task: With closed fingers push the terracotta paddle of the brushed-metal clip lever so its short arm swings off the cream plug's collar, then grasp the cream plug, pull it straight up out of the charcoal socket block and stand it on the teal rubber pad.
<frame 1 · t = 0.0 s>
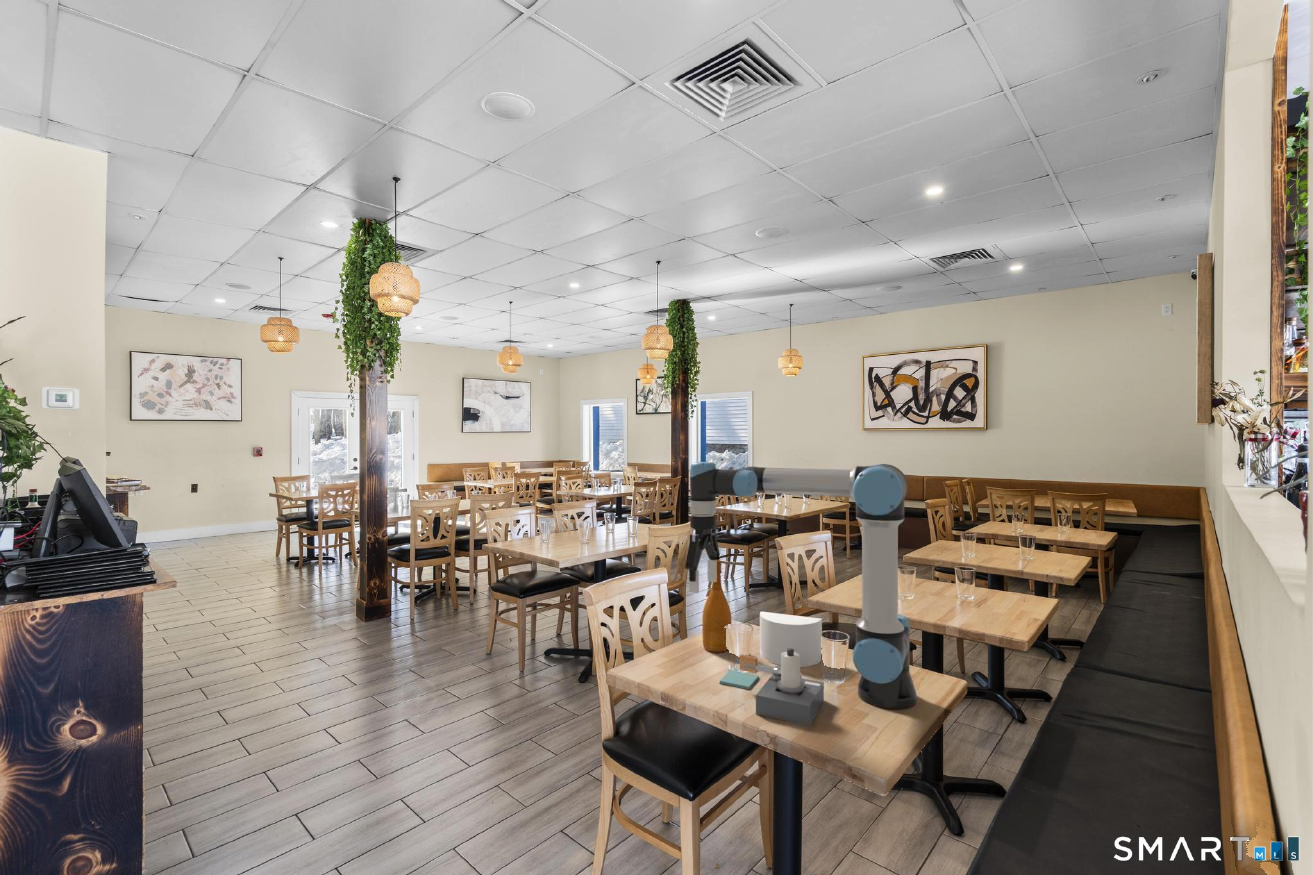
hand: (703, 586, 179), 28 cm above the table, fingers open, 13 cm apart
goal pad: (739, 680, 179), on the table
plug: (790, 707, 162), resting in socket block
container: (790, 655, 200), on the table
socket block: (790, 707, 162), on the table
wine bottle: (717, 648, 206), on the table
clip lever: (769, 668, 169), point 8 cm above the table, hinge at 0.0°
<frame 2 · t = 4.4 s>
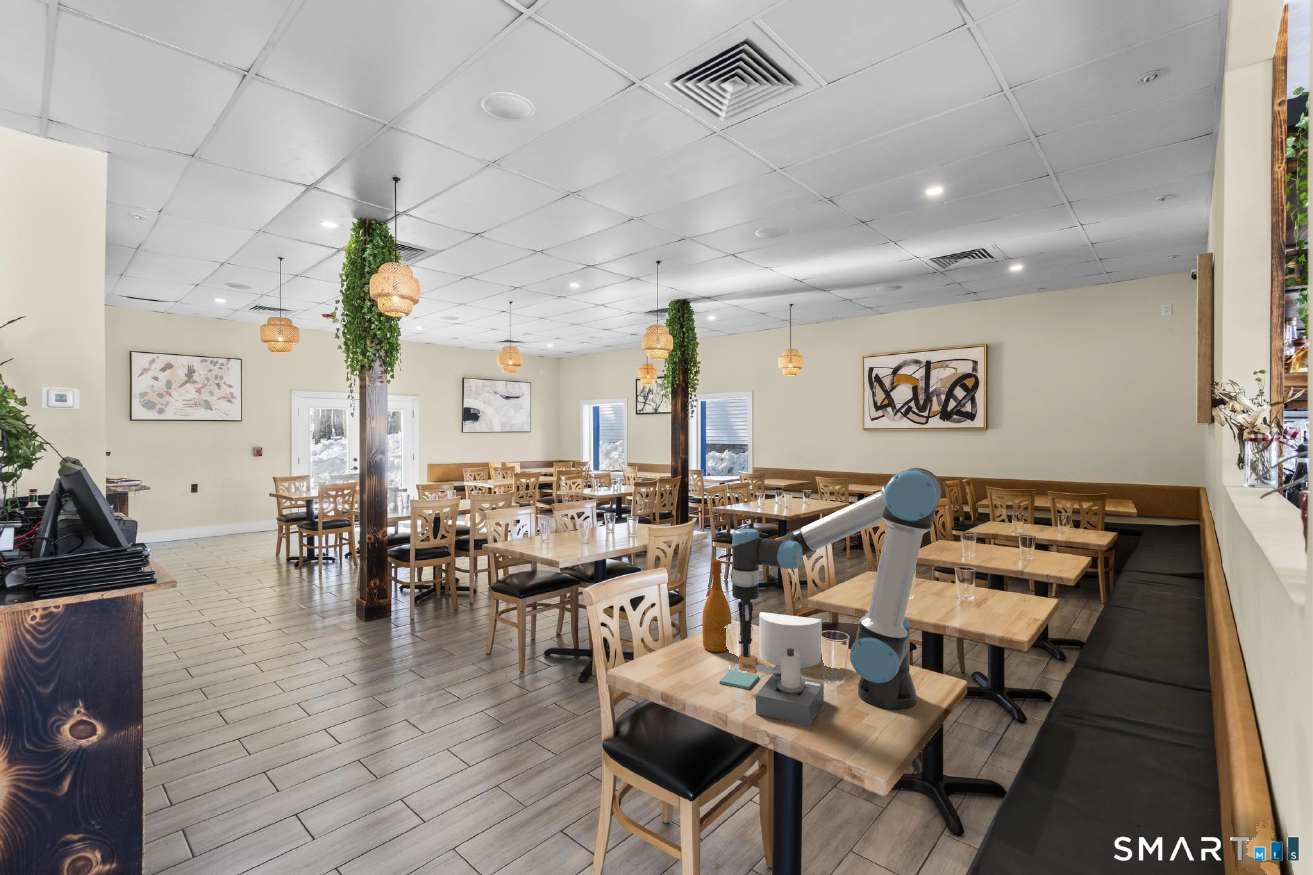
hand: (745, 664, 175), 6 cm above the table, fingers closed
clip lever: (769, 668, 169), point 8 cm above the table, hinge at 1.5°, touching gripper
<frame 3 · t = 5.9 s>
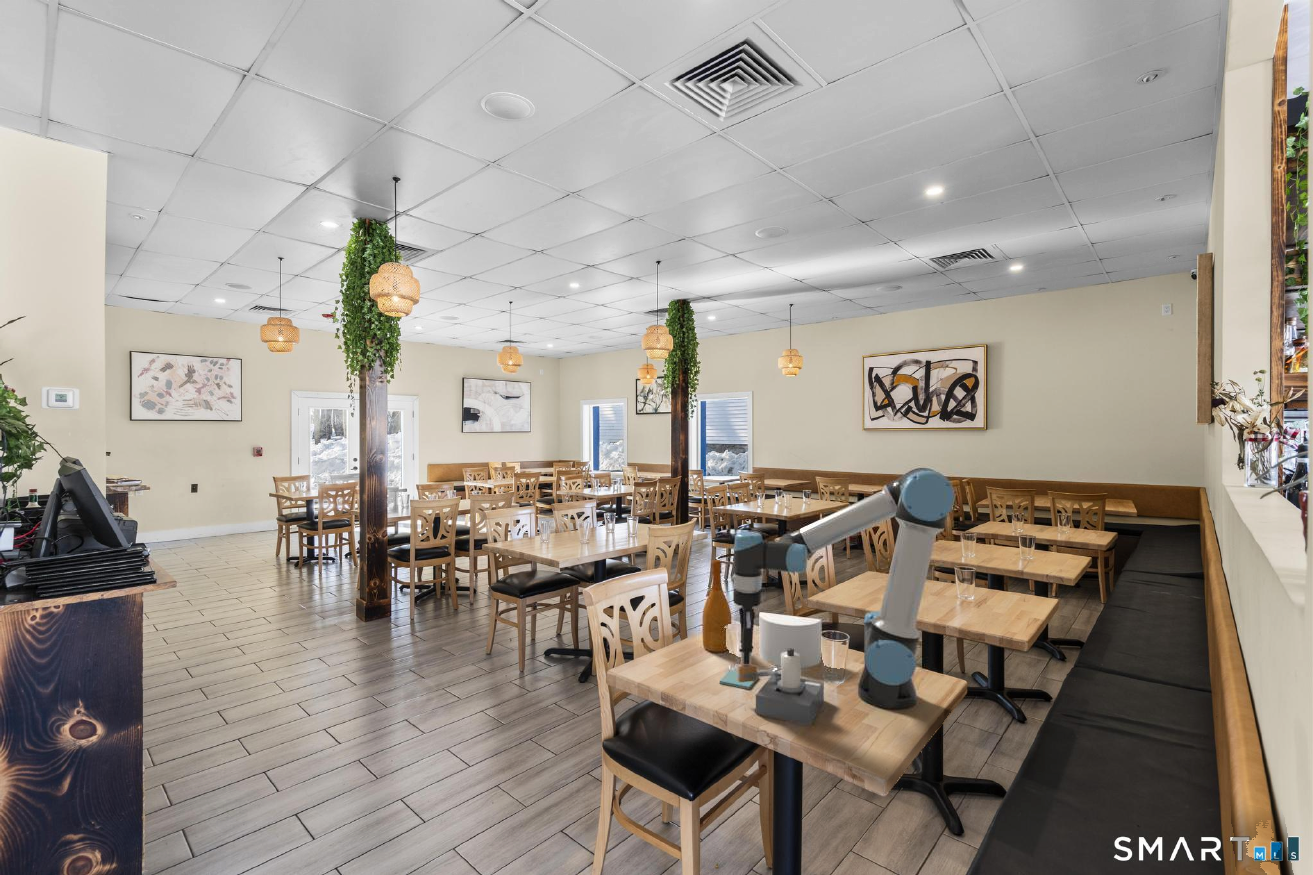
hand: (745, 673, 167), 7 cm above the table, fingers closed
clip lever: (769, 671, 167), point 8 cm above the table, hinge at 45.5°, touching gripper
everything else where it was.
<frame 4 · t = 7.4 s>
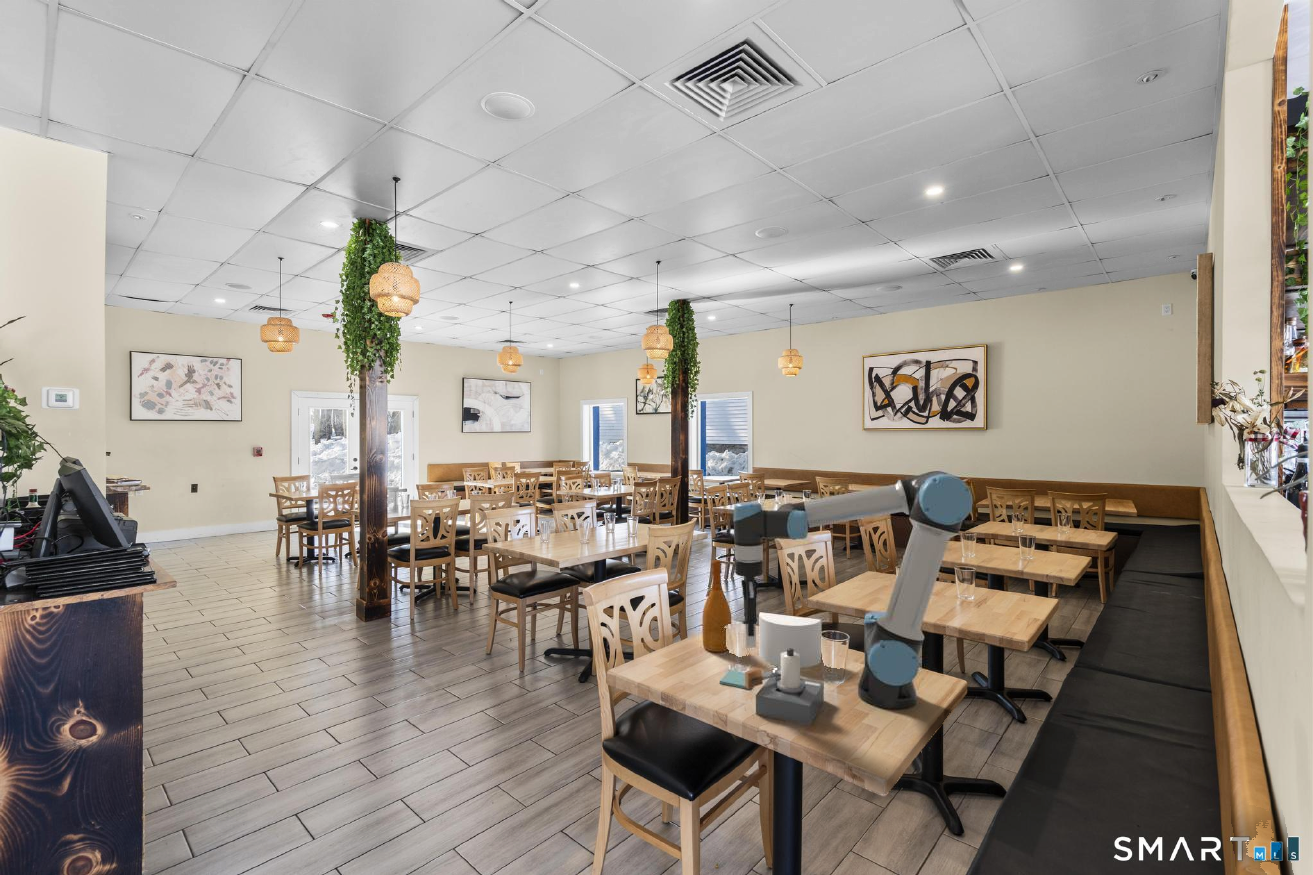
hand: (750, 646, 165), 15 cm above the table, fingers closed
clip lever: (771, 672, 166), point 8 cm above the table, hinge at 66.7°
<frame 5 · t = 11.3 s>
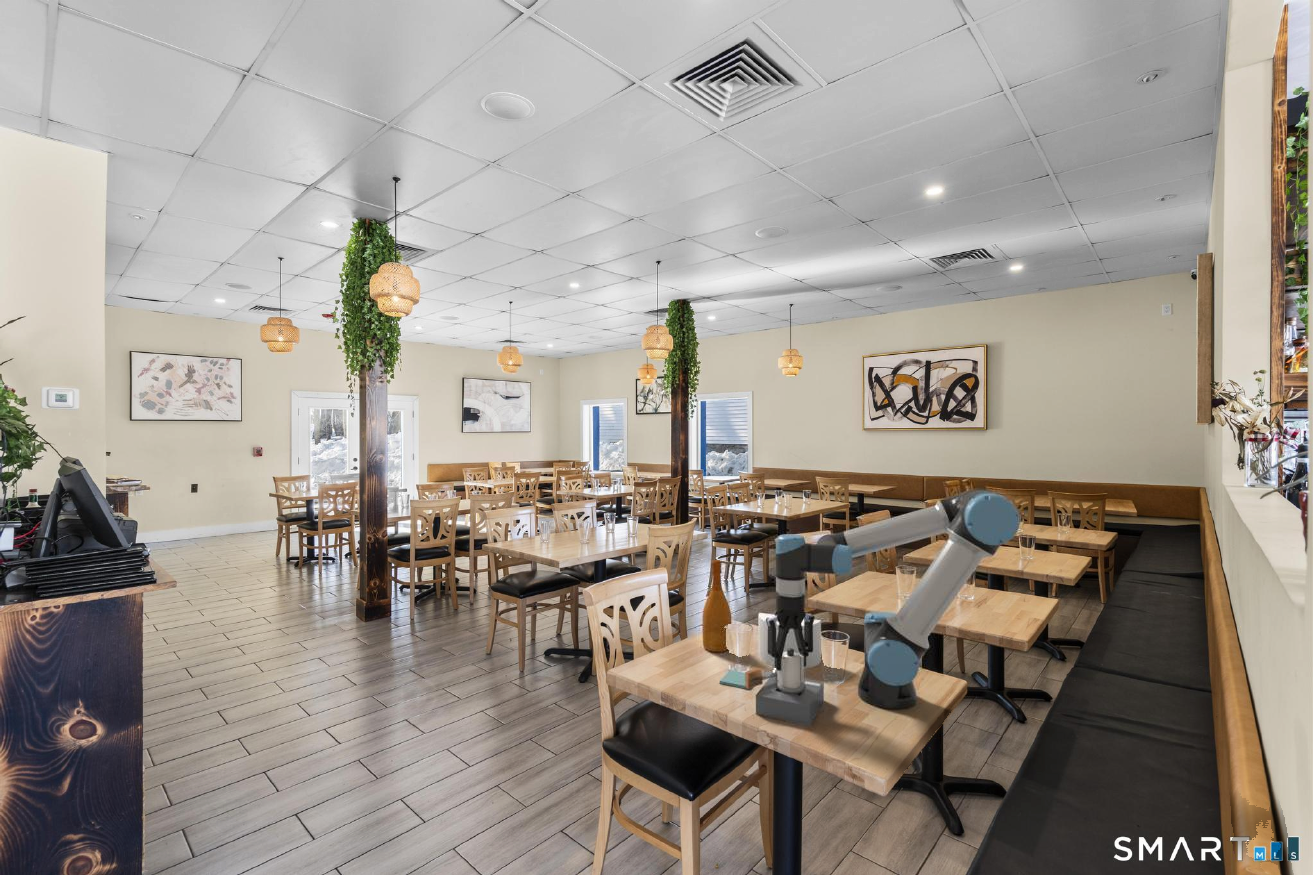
hand: (790, 680, 162), 7 cm above the table, fingers closed on plug, 5 cm apart
plug: (790, 707, 162), resting in socket block, touching gripper
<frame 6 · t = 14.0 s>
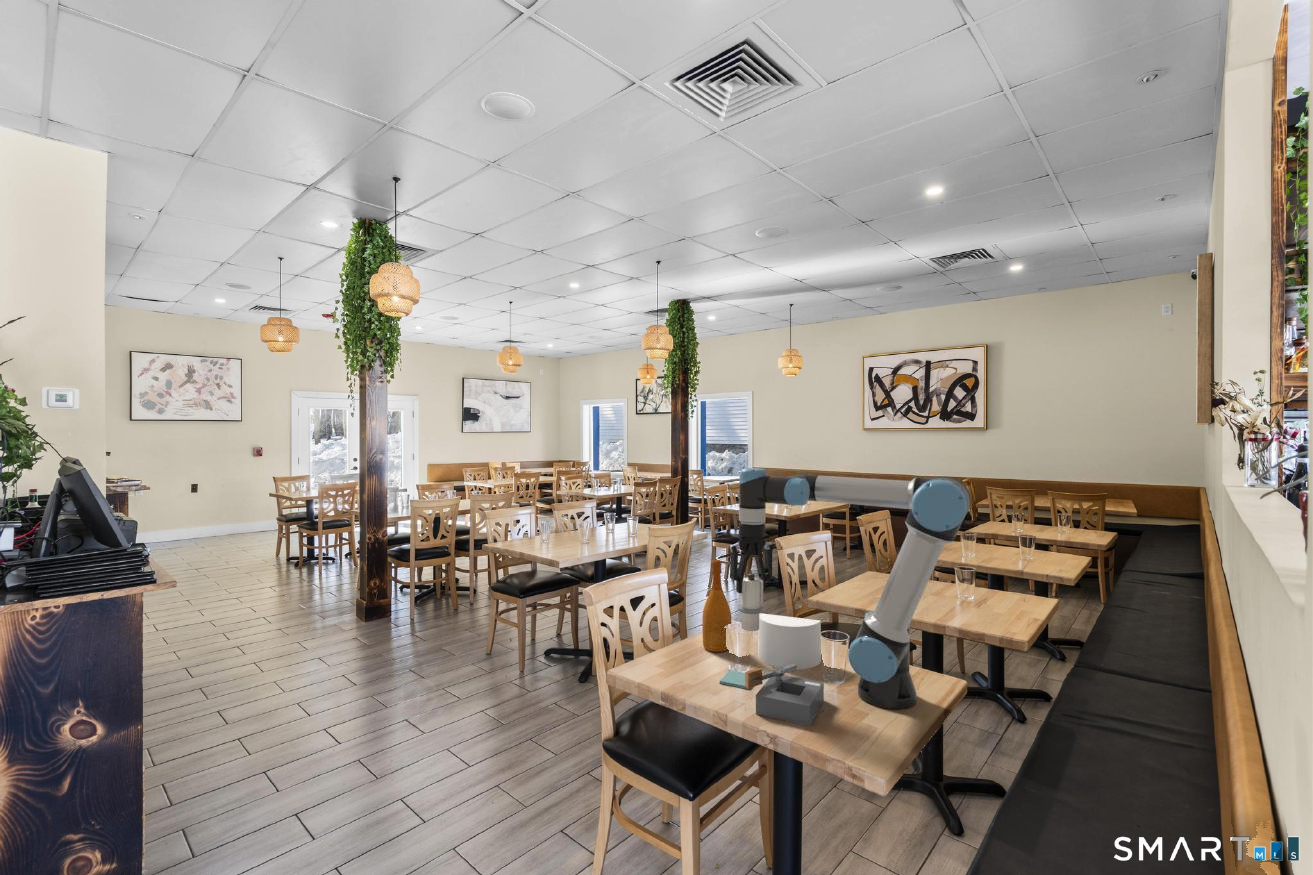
hand: (750, 602, 174), 24 cm above the table, fingers closed on plug, 5 cm apart
plug: (750, 628, 174), point 17 cm above the table, touching gripper
when the fingers open (9 cm above the table, at t = 17.0 s): plug stays where it is, resting on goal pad.
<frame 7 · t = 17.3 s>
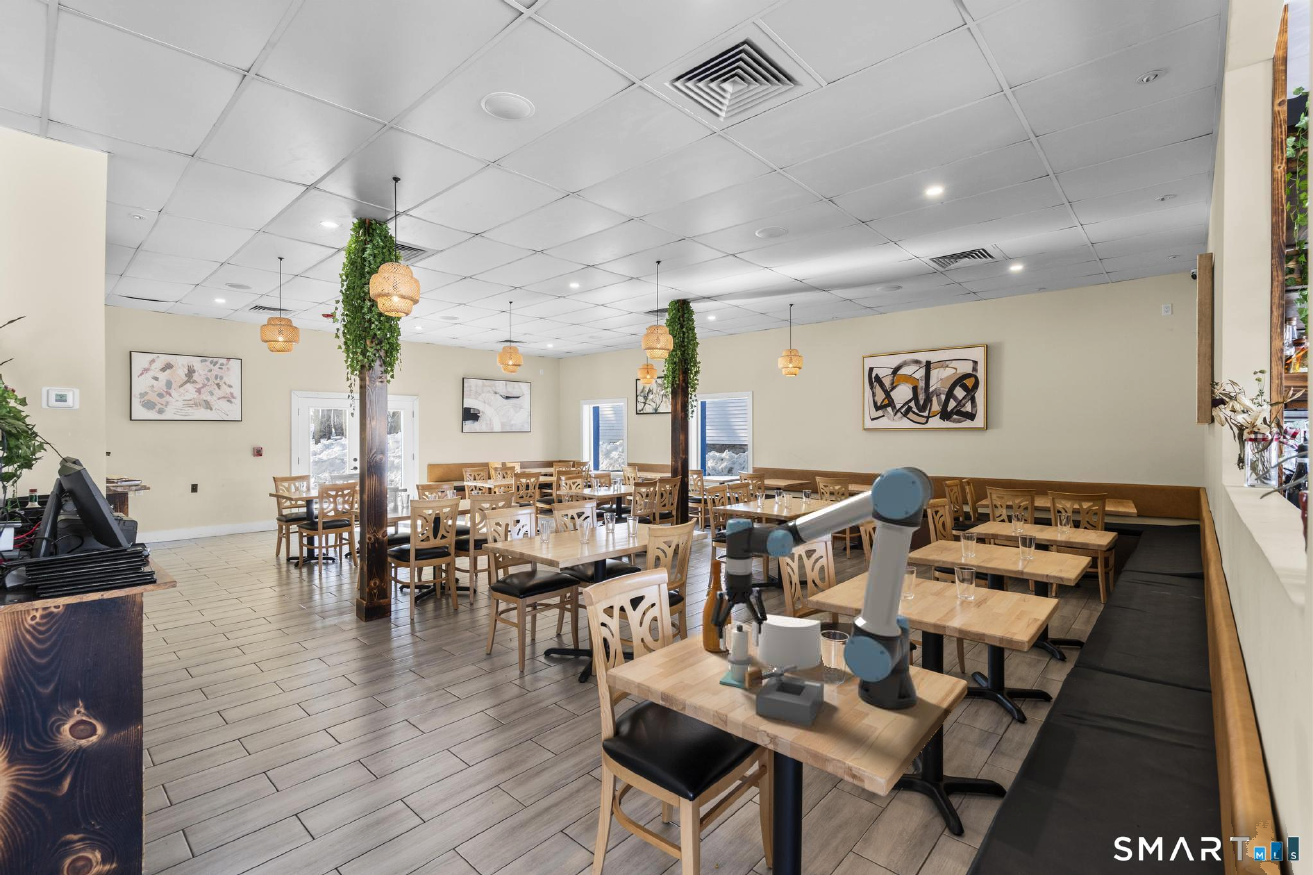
hand: (739, 647, 179), 10 cm above the table, fingers open, 10 cm apart
plug: (739, 677, 179), point 1 cm above the table, touching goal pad
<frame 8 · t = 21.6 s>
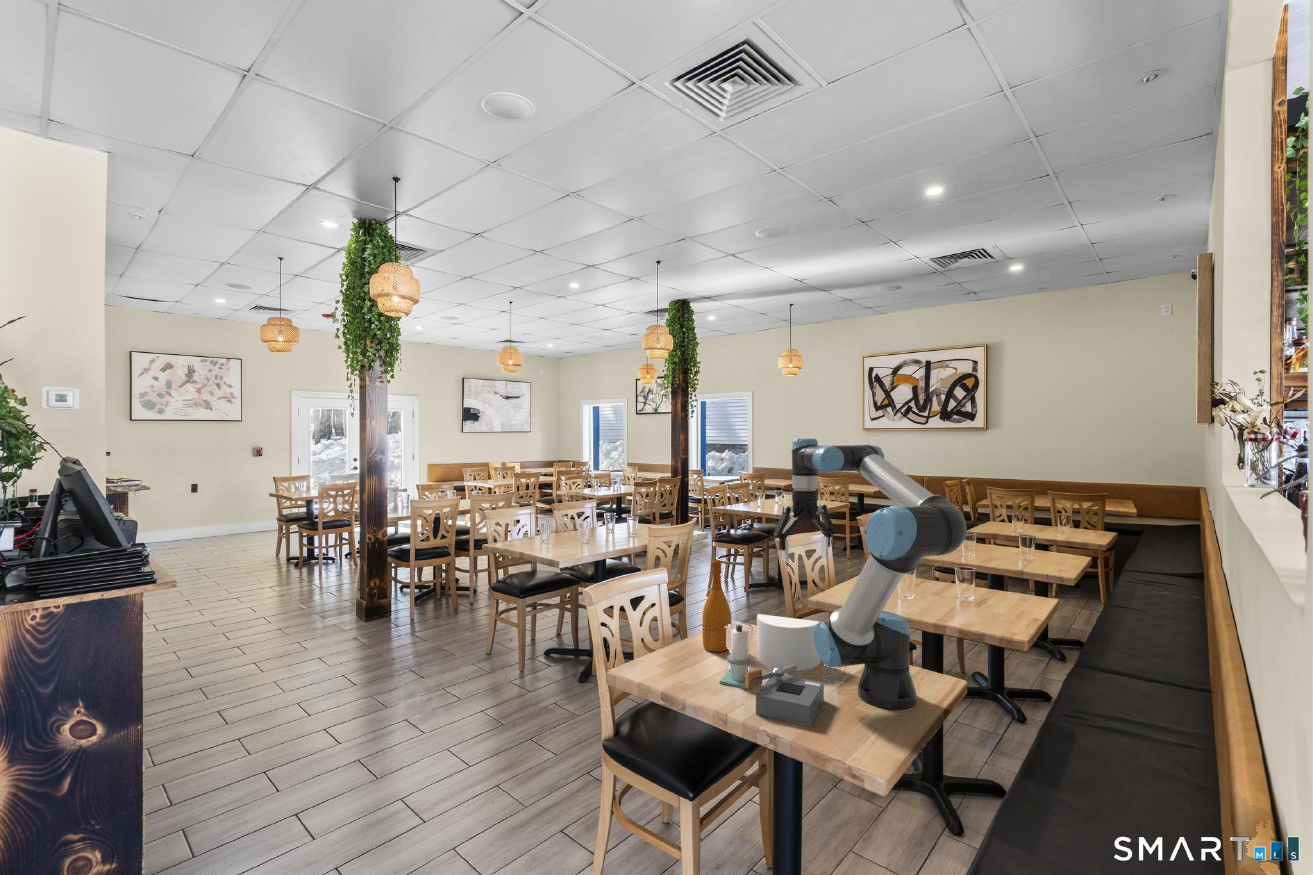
hand: (805, 559, 184), 35 cm above the table, fingers open, 13 cm apart
at the end: clip lever at +67° (first picture: +0°); plug inside the target area on the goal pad (0.0 cm from its centre), point 0.8 cm above the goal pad's base; plug tilted 0° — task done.
